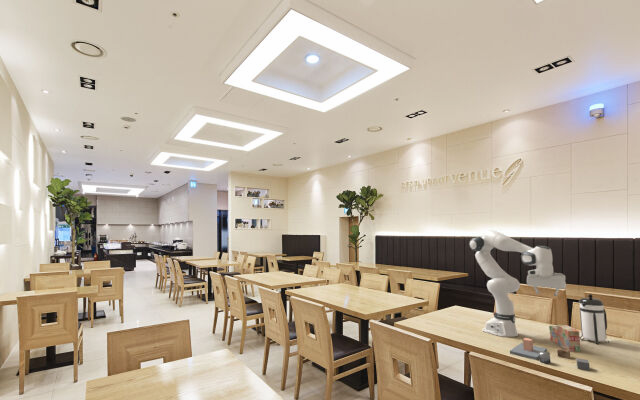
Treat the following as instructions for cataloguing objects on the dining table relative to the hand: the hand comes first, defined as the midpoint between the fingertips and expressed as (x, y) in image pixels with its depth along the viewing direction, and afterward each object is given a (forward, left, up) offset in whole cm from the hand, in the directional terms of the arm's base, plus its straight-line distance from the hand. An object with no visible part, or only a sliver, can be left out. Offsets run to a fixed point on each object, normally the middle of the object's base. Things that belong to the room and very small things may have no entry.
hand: (546, 294), depth 204 cm
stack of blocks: (+4, +16, -33) cm, 37 cm away
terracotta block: (-8, -14, -32) cm, 35 cm away
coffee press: (+15, +39, -33) cm, 54 cm away
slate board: (-8, -14, -33) cm, 37 cm away
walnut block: (+8, -7, -33) cm, 35 cm away
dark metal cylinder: (+3, -24, -33) cm, 41 cm away
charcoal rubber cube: (+19, -19, -33) cm, 43 cm away
